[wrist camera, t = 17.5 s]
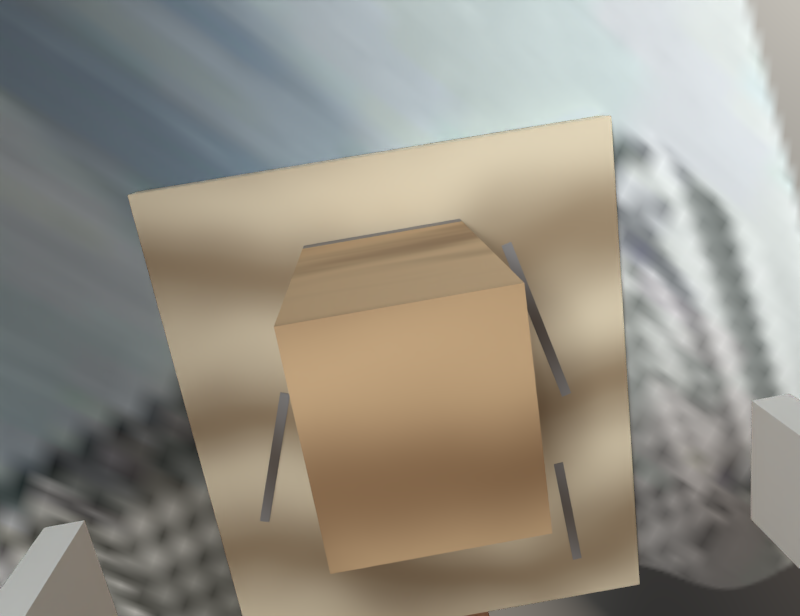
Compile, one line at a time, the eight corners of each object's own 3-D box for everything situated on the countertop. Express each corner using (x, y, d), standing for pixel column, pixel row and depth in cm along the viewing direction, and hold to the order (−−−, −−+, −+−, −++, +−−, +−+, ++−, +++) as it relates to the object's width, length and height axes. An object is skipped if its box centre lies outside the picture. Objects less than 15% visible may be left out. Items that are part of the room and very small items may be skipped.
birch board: (137, 191, 25) (127, 195, 24) (599, 115, 26) (611, 115, 25) (256, 634, 31) (252, 654, 30) (629, 567, 32) (640, 584, 31)
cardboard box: (303, 245, 25) (273, 326, 16) (459, 218, 25) (524, 283, 16) (338, 411, 27) (330, 573, 18) (482, 386, 27) (552, 533, 18)
